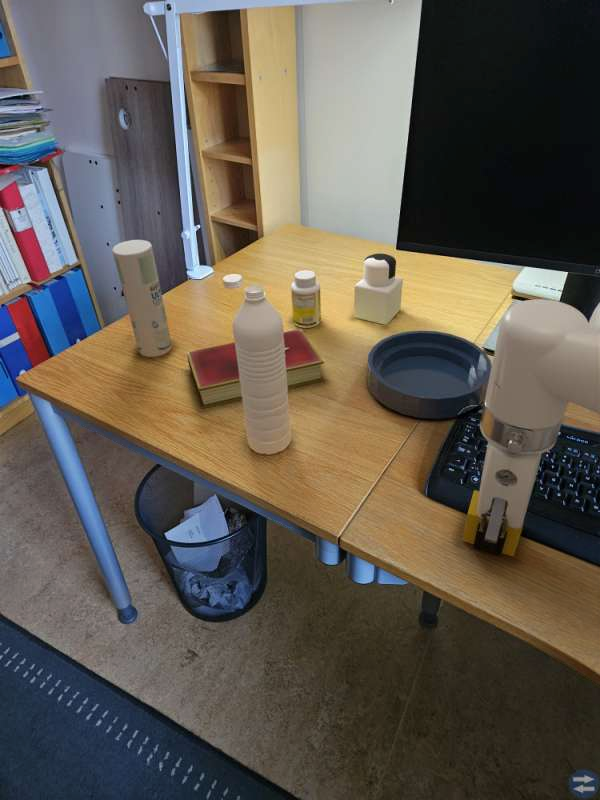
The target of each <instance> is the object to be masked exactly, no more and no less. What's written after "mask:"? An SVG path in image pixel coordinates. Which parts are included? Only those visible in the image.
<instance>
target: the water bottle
mask: <svg viewBox="0 0 600 800" xmlns="http://www.w3.org/2000/svg"><path fill="white" fill-rule="evenodd" d="M222 284H223V287H224V288H225V289H228V290H234V289H235V290H236V289H239V288H241V287H243V285H244V281H243V275H241V274H239V273H231V274H226V275H224V276H223V278H222ZM266 296H267V293H266V292H265V289H264V287H263V286H262V285H260V284H250V285H248V286H247V287H245V289H244V294H243V299H244V301H243V302H242V304H241V306H240V307H239V309H238V310H237V312H236V314H235V315H234V318H233V322H232V334H233V339H234V343H235V347H236V355H237V362H238V370H239V379H240V386H241V394H242V399H243V400H241V401H242V407H243V416H244V424H245V430H246V440H247V444H248V446H249V448H250V449H251V450H253V451H254V452H255V453H257V454H260V455H276V454H277V453H281V452H283V451H284V450H286V449H287V448H288V446H289V445H290V444H291V441H292V432H291V431H292V430H291V418H290V407H289V406H290V405H289V396H288V394H289V391H288V390H289V389H288V387H287V374H286V364H285V349H284V332H285V331H284V330H285V328H284V321H283V318H282V316H281V314H280V312H279V311H278V310H277V309H276V307H274V305H273V304H272V303H271V302H270V301H269V300H268V299H267V298H266Z"/></svg>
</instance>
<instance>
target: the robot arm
mask: <svg viewBox="0 0 600 800" xmlns="http://www.w3.org/2000/svg"><path fill="white" fill-rule="evenodd" d="M491 365H492V367H491V372H490V377H489V383H488V387H487V392H486V397H485V400H484V401H483V407H482V412H481V416H480V421H479V430H480V432H481V434H482V436H483V437H484V439H485V440H486V441H487V446H486V451H485V456H484V461H483V467H482V471H481V472H482V473H481V480H480V485H479V499H478V507H477V514H478V516H479V517H480V518H481V517H482V521H481V524H480V523H479V524H478V528H477V532H476V536H475V540H474V544H472V547H473V549H475V550H477V551H480V552H483V553H486V554H490V555H494V556H496V557H500V556H501V555H502V554H503V553H502V550H503V546H504V543H505V539H506V536H507V531H506V528H507V525H508V524H509V526H510V527H511V528H516V529H519V528H521V527H522V525H523V526H524V522H525V517H526V513H527V510H528V506H529V502H530V499H531V495H532V493H533V489H534V485H535V483H536V478H537V475H538V471H539V467H540V462H541V459H542V456H543V455H542V454H544V453H547V452H548V451H550V450H551V449H552V448H553V447H554V446H555V445H556V443H557V441H558V436H559V434H560V430H561V427H562V425H563V421H564V418H565V414H566V412H567V408H568V406H569V402H570V403H573V404H575V405H577V406H580V407H582V408H585V409H586V410H589V411H591V412H594V413H597V414H599V415H600V302H599V303H598V304H597V306H596V307H595V309H594V310H593V312H592V315H591V316H590V318H589V321H588V319H587V318H586V316H585V315H584V314H583V313H582V312H581V311H580V310H578V309H577V308H576V307H574V306H573V305H570V304H567V303H565V302H562V301H557V300H553V299H543V298H534V299H526V300H523V301H520V302H517V303H515V304H513V305H512V306H510V307H509V308H508V309H507V310H506V311H505V312H504V314H503V316H502V318H501V320H500V324H499V329H498V332H497V338H496V343H495V349H494V353H493V357H492V361H491ZM487 516H489V517H490V519H489V523H488V522H486V520H487ZM502 520H503V523H502V527H501V522H502ZM522 528H523V527H522Z"/></svg>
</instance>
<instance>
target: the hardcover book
mask: <svg viewBox="0 0 600 800" xmlns="http://www.w3.org/2000/svg"><path fill="white" fill-rule="evenodd" d="M284 349H285V364H286V374H287V387H288V390H290V389H294V388H298V387H303V386H307V385H308V386H309V385H312V384H316V383H320V382H324V381H325V378H324V377H323V376H324V375H322V364H323V365H324V363H325V361H324V359H323V358H322V357H321V355H320V354H319V352H318V351H317V349H316V348H315V346H314V345H313V343H312V342H311V340H310V339H309V337H308V336H307V334H306V333H305V331H304V330H303V329H302V328H298V329H294V330H289V331H288V330H287V331H284ZM186 357H187V363H188V366H189V371H190V375H191V378H192V380H193V384H194V387H195V390H196V393H197V397H198V400H199V403H200V406H201V409H208V408H211V407H216V406H220V405H224V404H225V405H226V404H229V403H233V402H234V403H235V402H239V401H242V400H243V399H242V394H241V386H240V379H239V370H238V362H237V355H236V347H235V342H231V343H225V344H220V345H216V346H211V347H206V348H201V349H196V350H192V351H187V352H186Z"/></svg>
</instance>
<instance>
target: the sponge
mask: <svg viewBox="0 0 600 800" xmlns="http://www.w3.org/2000/svg"><path fill="white" fill-rule="evenodd" d="M479 491H480V490H479ZM479 491H478V490H473V493H472V497H471V500H470V504H469V508H468V511H467V514H466V519H465V525H464V529H463V534H462V538H461V541H462V542H465V543H468V544H471V545H474V540H475V536H476V532H477V528H478V524H479V523H480V524H481V521H482V517H481V518H480V517H479V516H478V514H477V507H478V499H479ZM489 519H490V517H489V516H487V520H486V522H488V523H489ZM502 523H503V520H502V522H501V527H502ZM523 527H524V524H523V525H522V527H521V528H519V529H516V528H511V527H510V526H509V524H508V525H507V528H506V531H507V536H506V539H505V543H504V546H503V550H502V553H501V554H503V555H507V556H510V557H514V556H515V554H516V550H517V547H518V544H519V542H520V541H519V540H520V537H521V534H522V531H523Z"/></svg>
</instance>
